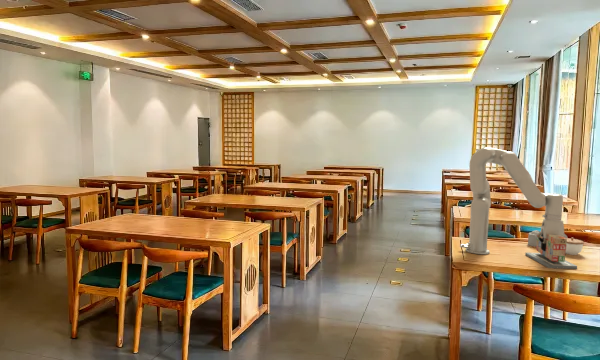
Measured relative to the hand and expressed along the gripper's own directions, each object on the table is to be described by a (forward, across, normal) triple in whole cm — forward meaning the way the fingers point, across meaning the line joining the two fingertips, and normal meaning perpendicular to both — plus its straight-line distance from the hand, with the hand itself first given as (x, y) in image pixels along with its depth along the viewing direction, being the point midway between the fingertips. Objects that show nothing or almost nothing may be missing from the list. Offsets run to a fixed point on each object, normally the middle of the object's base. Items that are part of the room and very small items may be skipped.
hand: (550, 250), depth 220 cm
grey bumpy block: (+7, +13, +37) cm, 40 cm away
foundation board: (+6, 0, 0) cm, 6 cm away
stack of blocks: (+3, 0, 0) cm, 3 cm away
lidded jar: (+6, +22, +19) cm, 30 cm away
